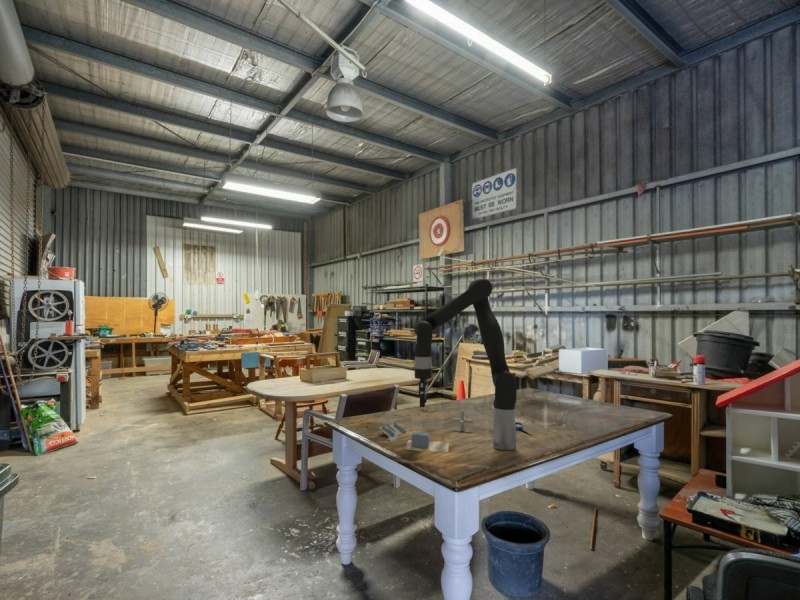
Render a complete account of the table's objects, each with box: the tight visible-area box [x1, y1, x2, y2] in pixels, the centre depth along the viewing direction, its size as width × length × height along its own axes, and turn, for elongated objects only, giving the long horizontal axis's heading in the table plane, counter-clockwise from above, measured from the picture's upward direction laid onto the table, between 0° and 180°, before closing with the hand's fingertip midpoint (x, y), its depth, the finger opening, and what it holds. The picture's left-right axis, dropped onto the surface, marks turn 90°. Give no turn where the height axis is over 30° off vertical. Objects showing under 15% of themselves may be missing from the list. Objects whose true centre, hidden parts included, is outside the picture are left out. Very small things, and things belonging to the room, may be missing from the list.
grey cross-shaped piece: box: [451, 410, 474, 432], centre depth 199 cm, size 10×10×10 cm
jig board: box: [404, 439, 450, 453], centre depth 171 cm, size 18×13×4 cm
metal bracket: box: [378, 421, 407, 442], centre depth 189 cm, size 14×6×15 cm
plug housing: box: [411, 431, 430, 448], centre depth 171 cm, size 7×4×5 cm, turn 82°
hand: (423, 404), depth 172 cm, fingers open, 8 cm apart
